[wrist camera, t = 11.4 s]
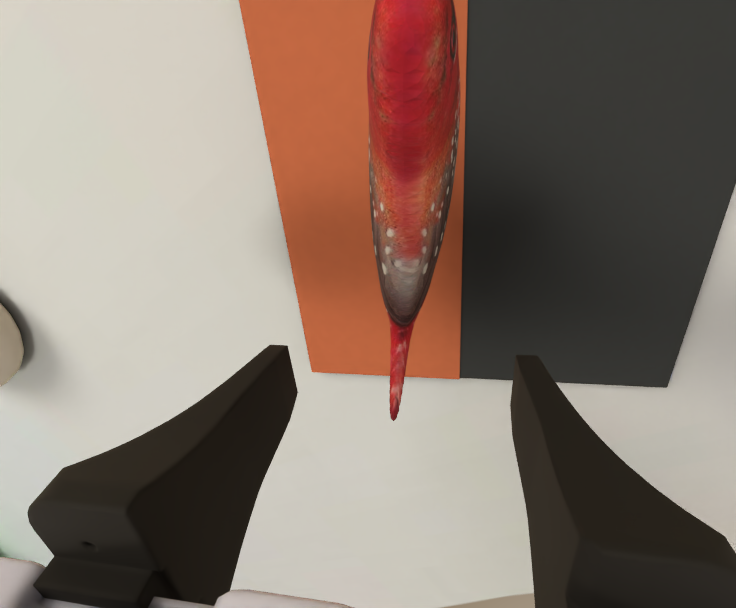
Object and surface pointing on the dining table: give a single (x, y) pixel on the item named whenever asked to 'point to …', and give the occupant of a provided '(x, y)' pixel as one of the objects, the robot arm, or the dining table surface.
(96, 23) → the dining table surface
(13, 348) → the donut
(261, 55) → the orange and black board
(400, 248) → the decorative bird figurine
